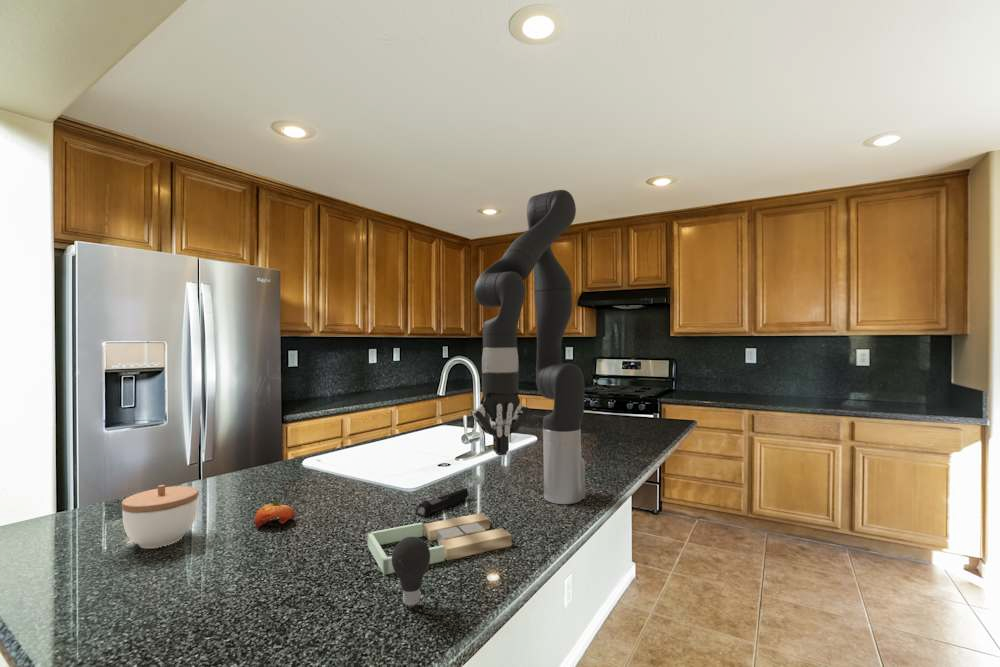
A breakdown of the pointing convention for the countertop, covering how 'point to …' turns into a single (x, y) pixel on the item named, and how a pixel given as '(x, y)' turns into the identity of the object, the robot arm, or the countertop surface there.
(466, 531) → the metal chip
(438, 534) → the metal chip
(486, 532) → the slot rails
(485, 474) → the countertop surface
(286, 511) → the tomato
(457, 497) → the electric trimmer
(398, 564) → the light bulb
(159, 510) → the lidded bowl
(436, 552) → the box
